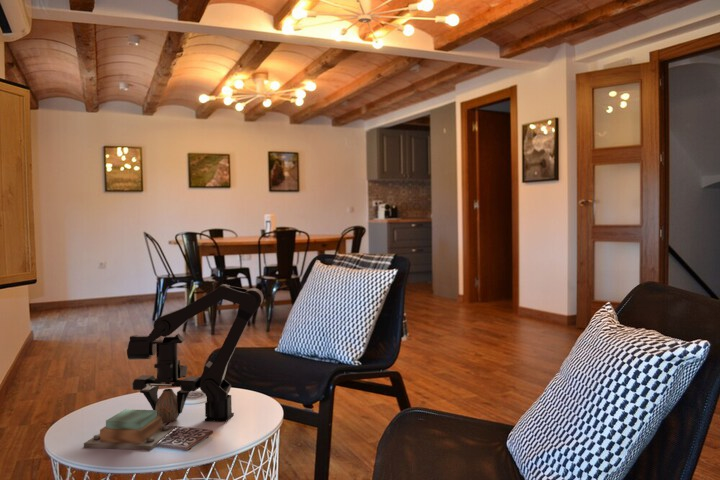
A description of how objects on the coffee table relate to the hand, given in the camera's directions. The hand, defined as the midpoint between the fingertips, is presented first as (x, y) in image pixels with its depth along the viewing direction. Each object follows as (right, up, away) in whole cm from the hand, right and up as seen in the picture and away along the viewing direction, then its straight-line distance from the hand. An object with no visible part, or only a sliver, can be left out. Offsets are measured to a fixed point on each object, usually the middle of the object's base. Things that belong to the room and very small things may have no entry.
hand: (168, 413), depth 160 cm
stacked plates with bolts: (-5, -2, -13) cm, 14 cm away
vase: (0, -2, 0) cm, 2 cm away
